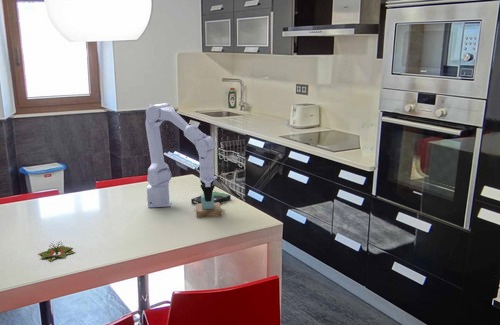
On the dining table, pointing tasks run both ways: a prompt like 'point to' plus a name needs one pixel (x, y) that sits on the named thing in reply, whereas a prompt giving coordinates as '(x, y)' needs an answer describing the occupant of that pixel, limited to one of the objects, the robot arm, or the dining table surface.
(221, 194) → the disk drive
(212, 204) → the teal cube
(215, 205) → the brown block
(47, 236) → the dining table surface
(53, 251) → the lily flower
